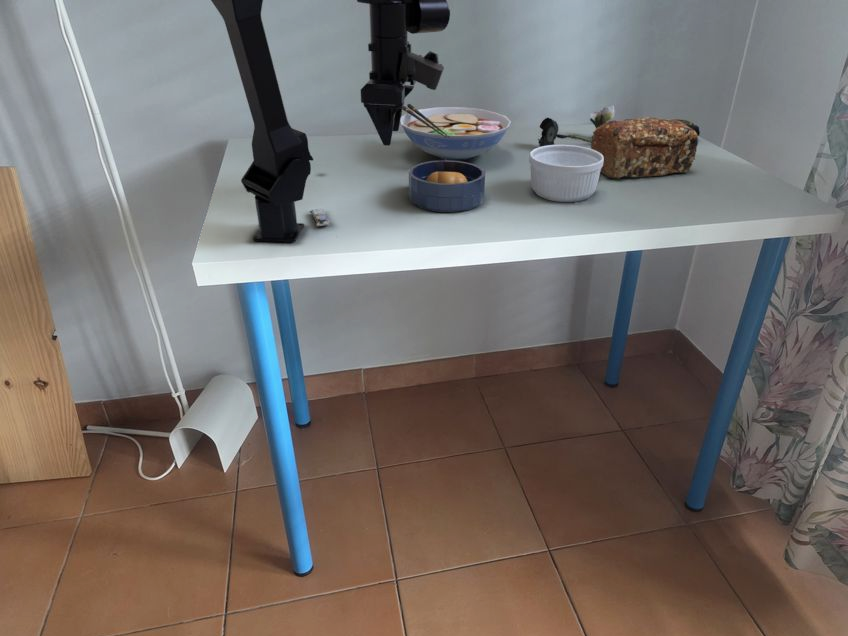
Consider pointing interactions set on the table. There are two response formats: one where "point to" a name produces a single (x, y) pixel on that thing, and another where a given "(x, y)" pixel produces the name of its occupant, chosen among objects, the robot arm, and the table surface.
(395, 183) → the table surface
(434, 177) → the croissant
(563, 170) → the ramekin
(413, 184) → the bowl
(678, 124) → the bread
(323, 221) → the granola bar
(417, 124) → the ramen bowl
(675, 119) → the tape measure
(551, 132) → the artificial flower
